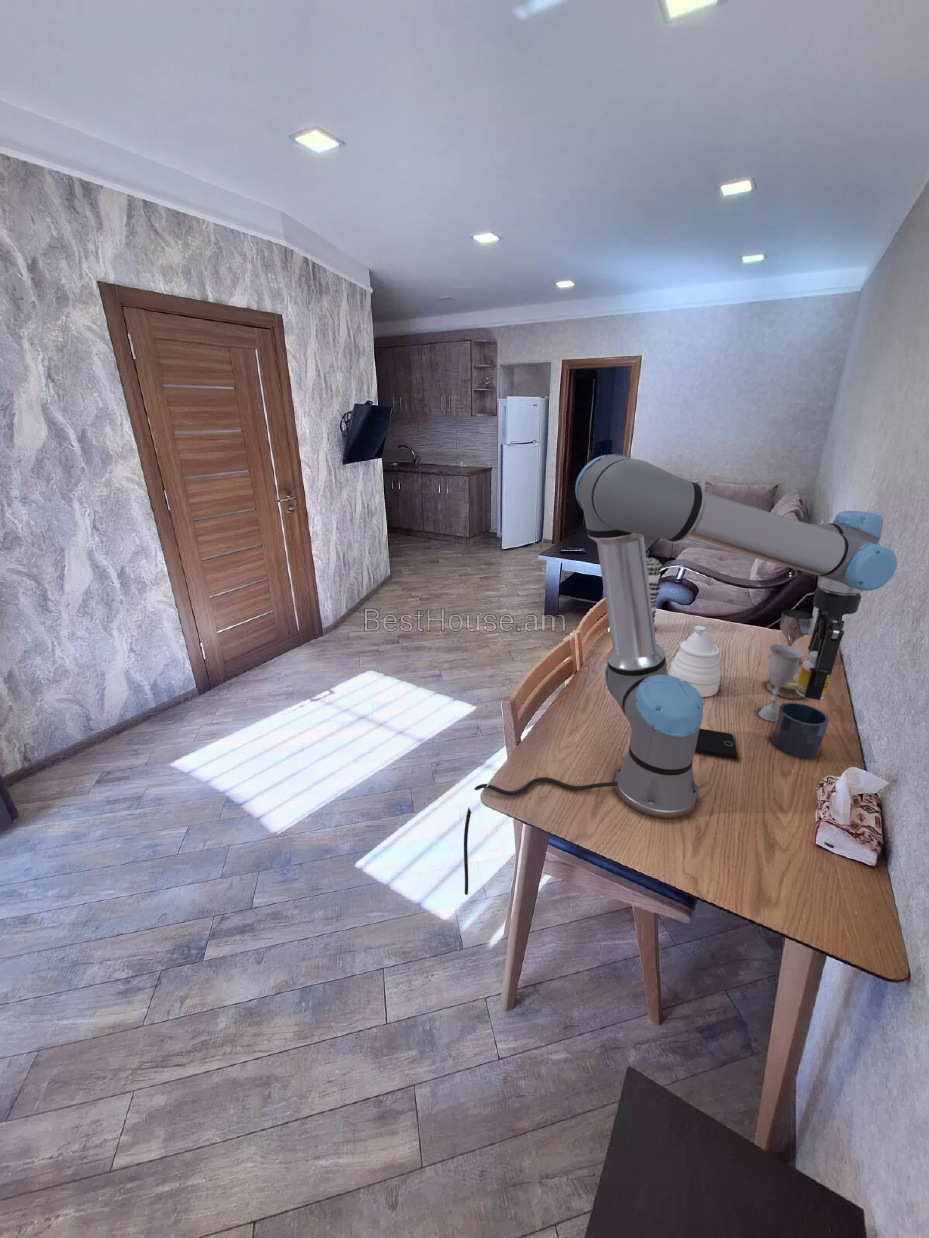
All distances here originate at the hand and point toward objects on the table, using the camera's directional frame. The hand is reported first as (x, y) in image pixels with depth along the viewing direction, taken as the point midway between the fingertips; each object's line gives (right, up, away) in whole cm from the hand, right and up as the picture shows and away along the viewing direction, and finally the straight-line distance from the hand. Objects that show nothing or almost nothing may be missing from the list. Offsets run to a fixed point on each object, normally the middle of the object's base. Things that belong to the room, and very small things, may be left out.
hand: (810, 691), depth 109 cm
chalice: (+1, -9, +17) cm, 19 cm away
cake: (+13, -4, +28) cm, 31 cm away
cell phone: (-23, -13, +7) cm, 27 cm away
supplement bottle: (0, -1, 0) cm, 1 cm away
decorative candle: (-13, +12, +69) cm, 71 cm away
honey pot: (-11, -3, +31) cm, 33 cm away
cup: (0, -13, +5) cm, 14 cm away
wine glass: (+24, +3, +45) cm, 51 cm away
